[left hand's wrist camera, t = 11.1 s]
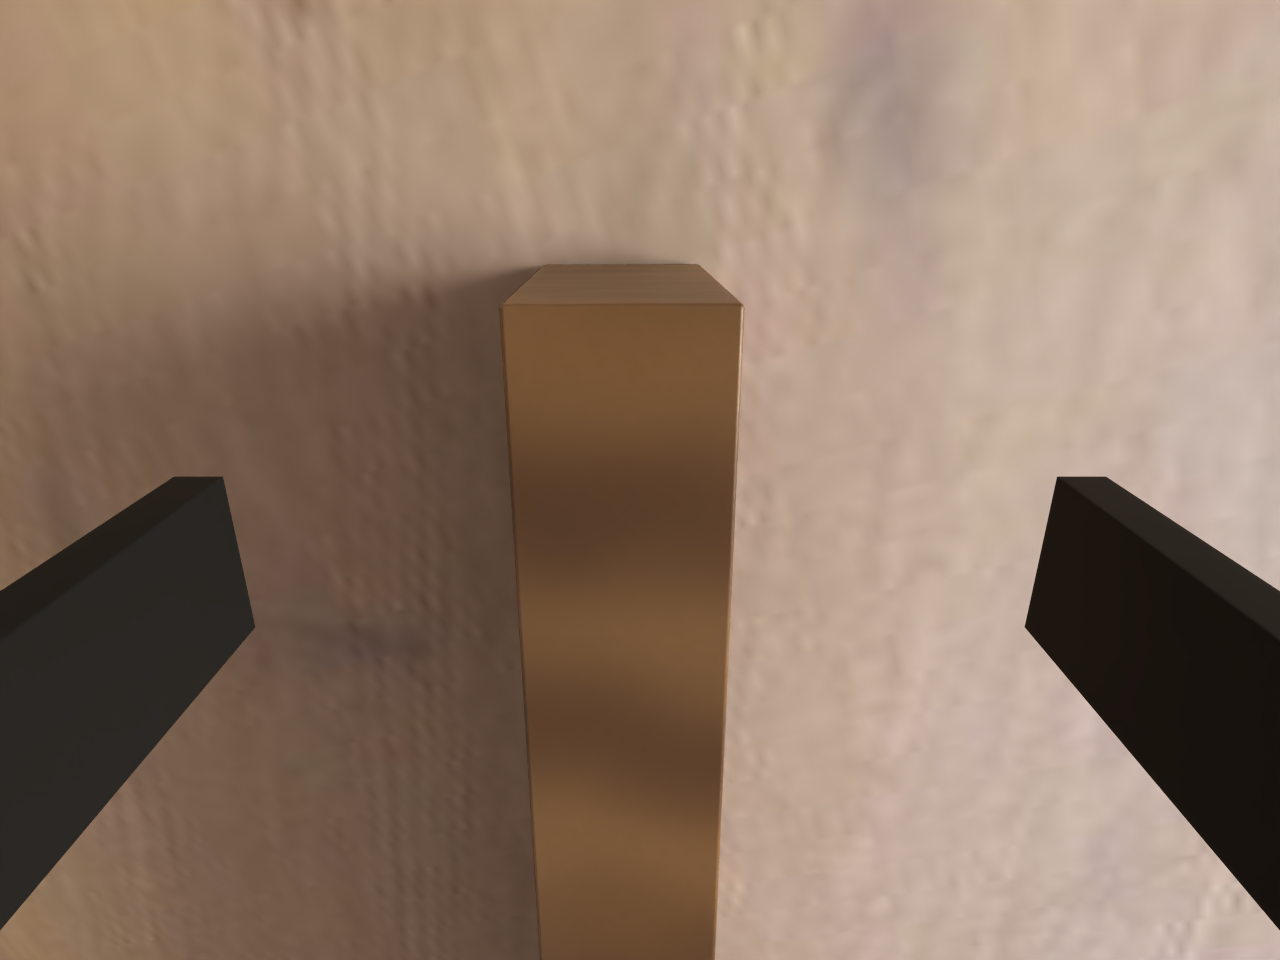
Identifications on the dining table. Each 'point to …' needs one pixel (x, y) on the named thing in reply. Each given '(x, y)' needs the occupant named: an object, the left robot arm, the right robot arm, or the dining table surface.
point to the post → (624, 596)
